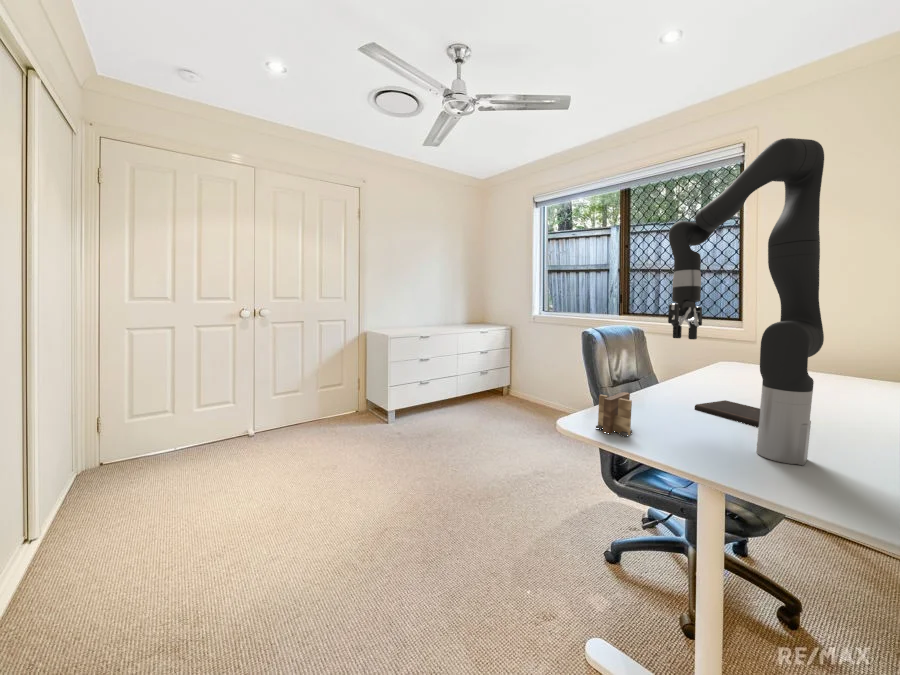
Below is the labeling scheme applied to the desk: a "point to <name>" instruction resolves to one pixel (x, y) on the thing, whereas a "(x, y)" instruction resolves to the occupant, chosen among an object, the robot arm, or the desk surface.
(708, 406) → the hardcover book
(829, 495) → the desk surface
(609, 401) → the brown notched wooden panel
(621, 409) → the oak upright
